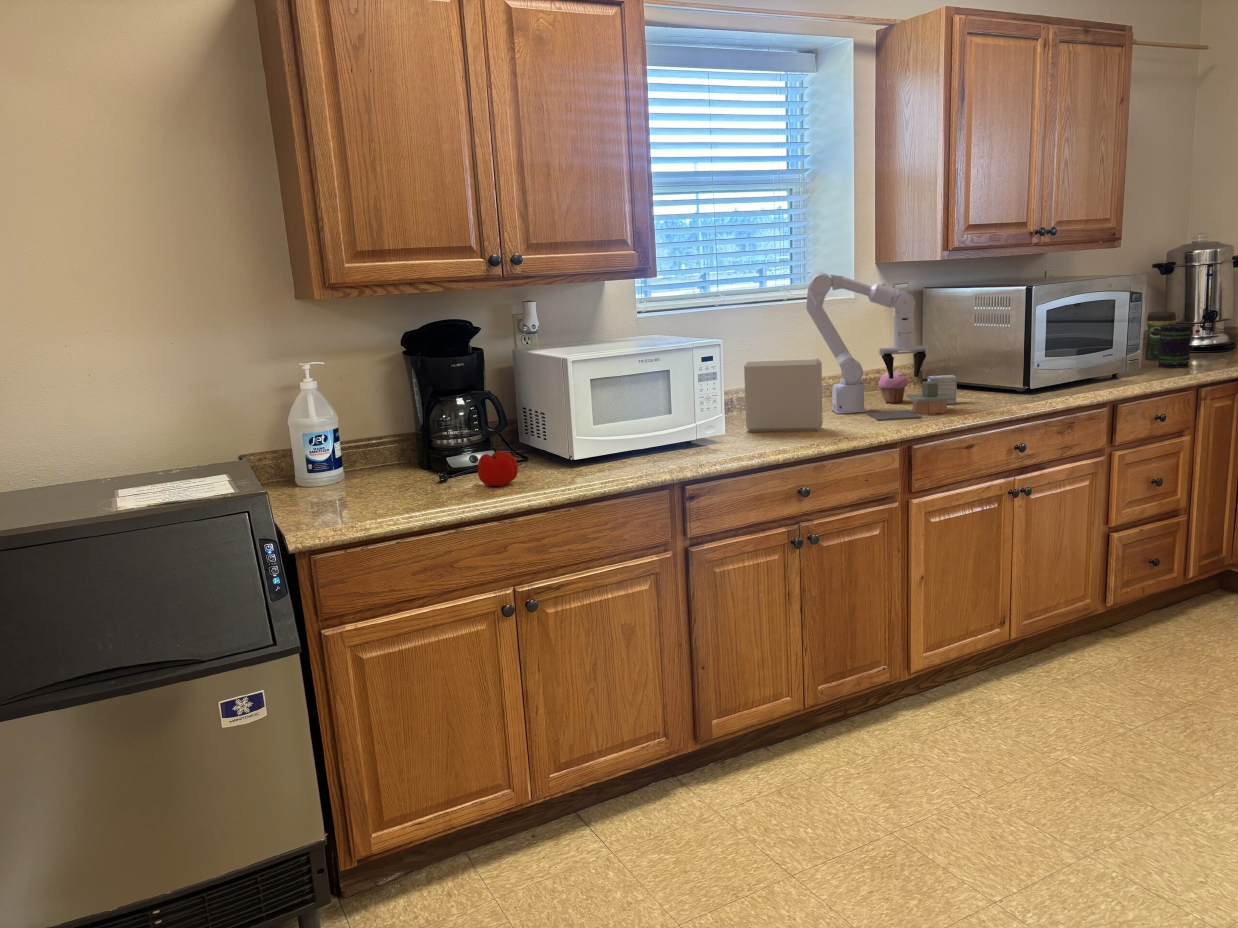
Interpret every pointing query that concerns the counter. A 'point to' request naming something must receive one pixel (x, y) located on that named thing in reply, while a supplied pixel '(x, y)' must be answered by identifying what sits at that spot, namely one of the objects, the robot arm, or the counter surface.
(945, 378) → the medicine box
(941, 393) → the lid
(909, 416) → the mat
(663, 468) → the counter surface
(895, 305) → the robot arm
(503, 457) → the tomato
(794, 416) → the taupe bevelled box
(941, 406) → the bowl
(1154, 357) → the coffee jar
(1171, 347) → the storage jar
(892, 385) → the cupcake
